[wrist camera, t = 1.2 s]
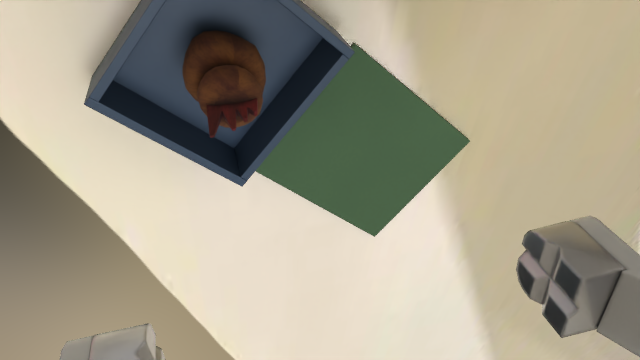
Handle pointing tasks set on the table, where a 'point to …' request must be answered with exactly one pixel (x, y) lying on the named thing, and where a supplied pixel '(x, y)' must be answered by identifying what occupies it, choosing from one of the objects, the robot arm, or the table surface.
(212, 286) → the table surface
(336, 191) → the mat
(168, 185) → the table surface
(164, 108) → the tray
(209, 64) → the wooden figurine
